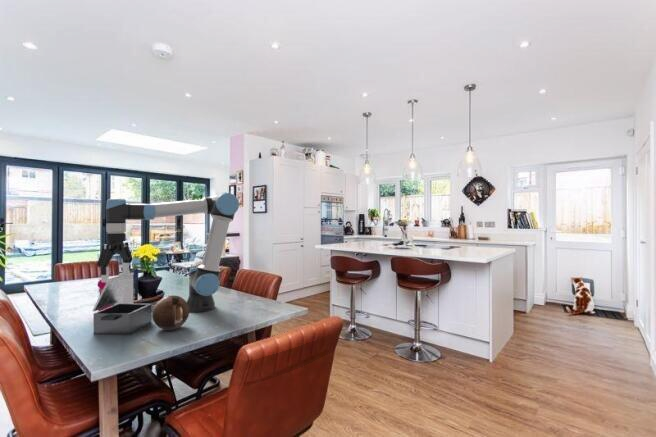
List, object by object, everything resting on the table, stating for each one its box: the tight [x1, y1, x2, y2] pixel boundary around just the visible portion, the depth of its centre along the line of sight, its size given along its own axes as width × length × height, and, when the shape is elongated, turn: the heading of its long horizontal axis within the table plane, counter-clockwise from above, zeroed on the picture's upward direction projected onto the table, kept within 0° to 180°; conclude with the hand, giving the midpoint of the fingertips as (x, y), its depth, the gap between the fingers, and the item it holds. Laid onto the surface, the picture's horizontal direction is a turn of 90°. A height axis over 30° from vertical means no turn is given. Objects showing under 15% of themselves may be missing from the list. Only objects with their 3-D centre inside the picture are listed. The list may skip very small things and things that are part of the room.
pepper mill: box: [97, 279, 114, 312], centre depth 169 cm, size 7×7×20 cm
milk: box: [113, 272, 134, 306], centre depth 168 cm, size 6×6×22 cm
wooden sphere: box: [151, 295, 190, 331], centre depth 147 cm, size 15×15×15 cm
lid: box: [92, 271, 135, 312], centre depth 149 cm, size 16×16×3 cm
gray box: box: [93, 303, 152, 336], centre depth 148 cm, size 16×21×9 cm
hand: (115, 279), depth 148 cm, fingers open, 13 cm apart
